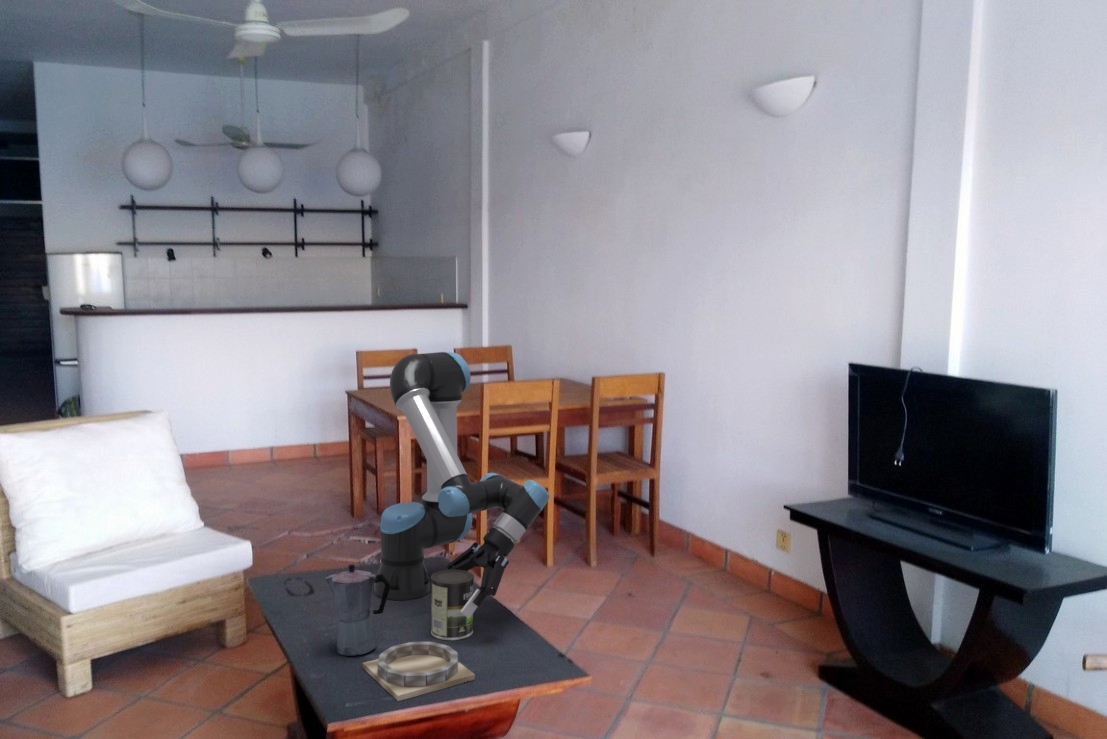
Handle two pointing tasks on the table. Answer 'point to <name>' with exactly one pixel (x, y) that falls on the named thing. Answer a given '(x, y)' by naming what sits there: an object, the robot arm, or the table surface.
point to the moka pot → (355, 609)
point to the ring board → (417, 669)
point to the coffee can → (451, 604)
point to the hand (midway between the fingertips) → (450, 606)
